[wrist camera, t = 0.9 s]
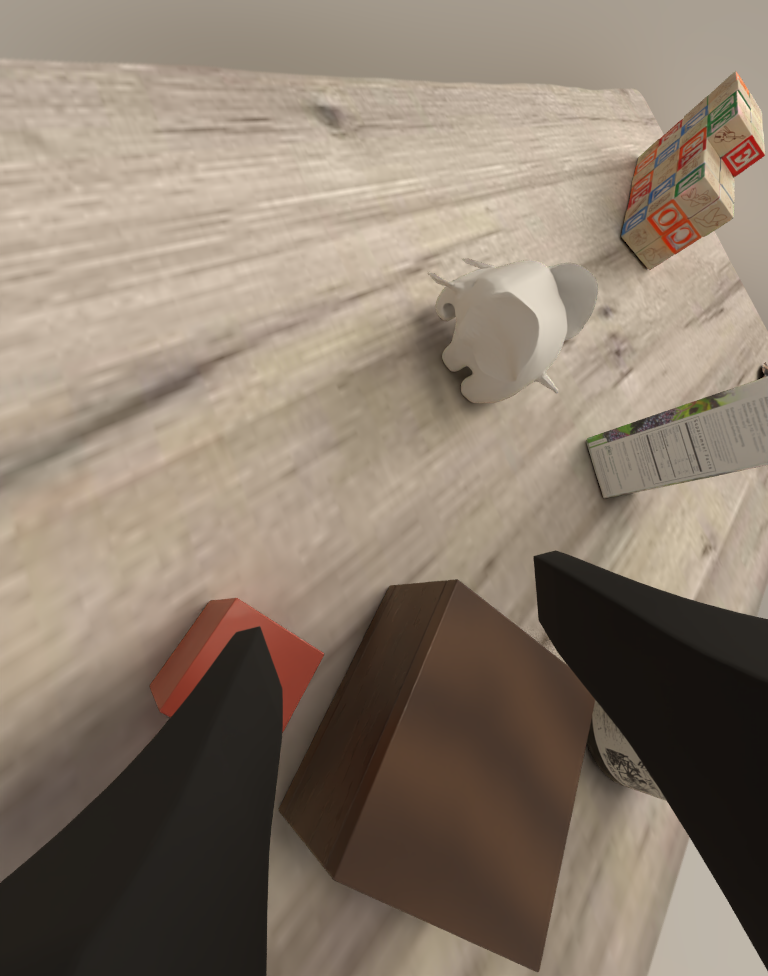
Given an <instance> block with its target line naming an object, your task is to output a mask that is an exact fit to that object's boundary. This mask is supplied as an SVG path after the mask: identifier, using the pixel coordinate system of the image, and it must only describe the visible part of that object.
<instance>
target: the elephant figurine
mask: <svg viewBox="0 0 768 976" xmlns="http://www.w3.org/2000/svg"><path fill="white" fill-rule="evenodd" d="M462 260H463V261H464V262H465V263H467V264H470V265H473V266H475V267H478V268H481V269H478V270H475V271H473V272H470V273H468V274H466V275H463V276H461V277H459V278H457V279H455V280H453V281H452V282H449V281H447V280H445V279H443V278H441V277H440V276H438V275H436V274H435V273H429V272H428V274H429V275H430V276H431V278H432V279H433V280H434V281H435V282H436V283H438V284H441V285H444V286H445V288H444V289H443V290H442V292H441V293H440V295H439V297H438V299H437V301H436V312H437V314H438V316H439V317H440V318H441V319H442V320H443V321H449V320H451V319H453V318H455V317H456V326H455V331H454V335H453V339H452V342H451V344H450V345H448V346H447V347H446V348H445V350H444V351H443V354H442V359H443V362H444V364H445V365H446V366H447V367H448V369H449V370H451V371H453V372H455V371H458V370H460V369H462V368H464V367H465V366H468V367H469V368H470V369H471V370H472V372H473V374H472V375H471V376H469V377H467V378H465V379H464V380H463V382H462V384H461V393H462V395H463V396H465V397H466V398H467V399H468V400H469V401H470V402H473V403H495V402H499V401H502V400H505V399H507V398H510V397H512V396H513V395H515V394H517V393H518V392H519V391H521V390H522V389H524V388H525V387H527V386H528V385H530V384H531V383H533V382H535V381H537V382H540V383H541V384H543V385H544V386H546V387H547V388H549V389H551V390H553V391H554V392H555V393H558V391H559V390H558V389H557V388H556V387H555V385H554V383H553V382H552V381H551V380H550V378H549V377H548V376H547V374H546V371H547V369H548V368H549V367H550V366H551V365H552V364H553V363H554V361H555V360H556V358H557V357H558V355H559V353H560V351H561V348H562V346H563V343H564V340H568V339H571V338H573V337H575V336H576V335H577V334H578V333H579V332H580V331H581V330H582V328H583V327H584V325H585V324H586V322H587V321H588V319H589V318H590V316H591V314H592V312H593V310H594V307H595V304H596V300H597V295H598V283H597V280H596V278H595V276H594V275H593V274H592V273H591V272H590V271H588V270H587V269H586V268H584V267H583V266H580V265H578V264H574V263H561V264H558V265H554V266H549V267H547V266H545V265H544V264H543V263H541V262H539V261H533V260H523V261H518V262H514V263H511V264H507V265H504V266H500V267H494V266H493V265H490V264H485V263H482V262H478V261H475V260H472V259H462Z"/></svg>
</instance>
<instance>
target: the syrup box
mask: <svg viewBox="0 0 768 976" xmlns="http://www.w3.org/2000/svg"><path fill="white" fill-rule="evenodd" d="M586 442H587V446H588V449H589V452H590V456H591V459H592V463H593V466H594V469H595V472H596V476H597V479H598V482H599V485H600V488H601V491H602V495H603V497H604V498H610V497H615V496H620V495H625V494H631V493H636V492H640V491H645V490H650V489H655V488H660V487H665V486H670V485H674V484H679V483H684V482H689V481H694V480H699V479H704V478H709V477H714V476H719V475H723V474H728V473H732V472H737V471H742V470H746V469H751V468H756V467H760V466H765V465H768V376H767V377H764V378H761V379H758V380H756V381H753V382H750V383H747V384H744V385H741V386H738V387H735V388H732V389H729V390H726V391H723V392H720V393H717V394H715V395H712V396H709V397H706V398H703V399H700V400H697V401H694V402H691V403H688V404H685V405H682V406H680V407H677V408H674V409H671V410H668V411H665V412H662V413H659V414H656V415H653V416H650V417H647V418H645V419H642V420H639V421H636V422H633V423H630V424H627V425H624V426H621V427H619V428H616V429H613V430H610V431H607V432H604V433H601V434H598V435H595V436H592V437H589V438H587V440H586Z"/></svg>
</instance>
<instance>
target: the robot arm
mask: <svg viewBox="0 0 768 976" xmlns="http://www.w3.org/2000/svg"><path fill="white" fill-rule="evenodd" d="M534 567H535V580H536V592H537V605H538V617H539V621H540V623H541V625H542V627H543V628H544V630H545V632H546V633H547V635H548V637H549V639H550V640H551V642H552V643H553V645H554V647H555V648H556V650H557V651H558V653H559V654H560V656H561V657H562V658H563V660H564V661H565V662H566V663H567V665H568V666H569V667H570V669H571V670H572V671H573V672H574V674H575V675H576V676H577V677H578V679H579V680H580V681H581V683H582V684H583V685H584V686H585V688H586V689H587V690H588V691H589V693H590V694H591V695H592V696H593V698H594V699H595V700H596V701H597V703H598V704H599V705H600V706H601V708H602V709H603V710H604V711H605V713H606V714H607V715H608V716H609V718H610V719H611V720H612V721H613V723H614V724H615V725H616V726H617V728H618V729H619V730H620V732H621V733H622V734H623V736H624V737H625V738H626V740H627V741H628V743H629V744H630V745H631V747H632V748H633V750H634V751H635V753H636V754H637V756H638V757H639V759H640V760H641V762H642V763H643V765H644V766H645V768H646V769H647V771H648V772H649V774H650V775H651V777H652V778H653V780H654V782H655V783H656V785H657V786H658V788H659V789H660V791H661V792H662V794H663V795H664V797H665V799H666V800H667V802H668V803H669V805H670V807H671V808H672V810H673V811H674V813H675V815H676V816H677V818H678V819H679V821H680V823H681V824H682V826H683V827H684V829H685V830H686V832H687V834H688V835H689V837H690V838H691V840H692V842H693V843H694V845H695V847H696V848H697V850H698V852H699V853H700V855H701V857H702V858H703V860H704V862H705V863H706V865H707V867H708V868H709V870H710V871H711V873H712V875H713V877H714V878H715V880H716V882H717V883H718V885H719V887H720V889H721V890H722V892H723V894H724V895H725V897H726V899H727V900H728V902H729V904H730V905H731V907H732V909H733V911H734V913H735V914H736V916H737V918H738V919H739V921H740V923H741V925H742V927H743V928H744V930H745V932H746V934H747V935H748V937H749V939H750V941H751V942H752V944H753V946H754V948H755V949H756V951H757V953H758V955H759V956H760V958H761V960H762V962H763V963H764V965H765V967H766V969H767V971H768V619H763V618H759V617H755V616H750V615H746V614H742V613H738V612H734V611H730V610H726V609H722V608H719V607H715V606H711V605H707V604H704V603H700V602H697V601H693V600H690V599H687V598H683V597H680V596H677V595H674V594H671V593H668V592H665V591H662V590H659V589H656V588H653V587H650V586H648V585H645V584H642V583H639V582H637V581H634V580H631V579H628V578H626V577H623V576H621V575H618V574H615V573H613V572H610V571H608V570H605V569H603V568H600V567H598V566H595V565H593V564H590V563H588V562H585V561H583V560H580V559H578V558H575V557H573V556H570V555H567V554H564V553H562V552H558V551H552V552H548V553H544V554H540V555H537V556H534ZM282 731H283V688H282V686H281V683H280V680H279V677H278V674H277V672H276V669H275V666H274V663H273V660H272V658H271V655H270V652H269V649H268V646H267V644H266V641H265V638H264V635H263V632H262V630H261V627H260V626H258V627H254V628H250V629H246V630H242V631H238V632H236V633H235V634H234V635H233V636H232V638H231V639H230V640H229V642H228V643H227V644H226V646H225V647H224V649H223V650H222V651H221V653H220V654H219V655H218V657H217V658H216V660H215V661H214V662H213V664H212V665H211V666H210V668H209V669H208V670H207V672H206V673H205V674H204V676H203V677H202V678H201V680H200V681H199V682H198V684H197V685H196V686H195V688H194V689H193V691H192V692H191V693H190V694H189V696H188V697H187V698H186V699H185V701H184V702H183V703H182V704H181V706H180V707H179V708H178V709H177V710H176V712H175V713H174V714H173V715H172V717H171V718H170V719H169V720H168V721H167V723H166V724H165V725H164V726H163V728H162V729H161V730H160V731H159V732H158V734H157V735H156V736H155V737H154V738H153V739H152V741H151V742H150V743H149V744H148V745H147V746H146V747H145V748H144V749H143V751H142V752H141V753H140V754H139V755H138V756H137V757H136V758H135V759H134V760H133V761H132V762H131V763H130V764H129V765H128V767H127V768H126V769H125V770H124V771H123V772H122V773H121V774H120V775H119V776H118V777H117V778H116V779H115V780H114V781H113V782H112V783H111V784H110V785H109V786H108V787H107V788H106V789H105V790H104V791H103V792H102V793H101V794H100V795H99V796H98V797H96V798H95V799H94V800H93V801H92V802H91V803H90V804H89V805H88V806H87V807H86V808H85V809H84V810H83V811H82V812H81V813H80V814H78V815H77V816H76V817H75V818H74V819H73V820H72V821H71V822H70V823H69V824H68V825H67V826H66V827H65V828H64V829H63V830H61V831H60V832H59V833H58V834H57V835H56V836H55V837H54V838H52V839H51V840H50V841H49V842H48V843H47V844H46V845H44V846H43V847H42V848H41V849H40V850H39V851H38V852H36V853H35V854H34V855H33V856H32V857H31V858H29V859H28V860H27V861H26V862H25V863H24V864H22V865H21V866H20V867H19V868H18V869H16V870H15V871H14V872H13V873H12V874H10V875H9V876H8V877H7V878H6V879H4V880H3V881H2V882H1V883H0V976H266V960H267V902H268V869H269V847H270V835H271V825H272V817H273V808H274V800H275V792H276V783H277V775H278V767H279V758H280V749H281V741H282Z"/></svg>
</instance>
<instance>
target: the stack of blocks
mask: <svg viewBox="0 0 768 976" xmlns="http://www.w3.org/2000/svg"><path fill="white" fill-rule="evenodd" d="M764 156H765V148H764V133H763V127H762V112H761V110H760V108H759V107H758V105H757V103H756V102H755V100H754V98H753V96H752V95H751V93H749V90H748V89H747V87H746V86H745V84H744V82H743V81H742V79H741V78H740V76H739V75H738V73H737V72H736V71H735V72H734V73H733V74H732V75H730V76H729V77H728V78H727V79H726V80H725V81H724V82H723V83H722V84H720V85H719V86H718V87H717V88H716V89H715V90H714V91H713V92H712V93H711V94H710V95H708V96H707V97H706V98H705V99H703V100H702V101H701V102H700V103H699V104H698V105H697V106H695V107H694V108H693V109H692V110H691V111H690V112H689V113H688V114H686V116H684V118H683V119H682V120H681V121H679V122H678V123H677V124H676V125H675V126H674V127H673V128H671V129H670V130H669V131H668V132H667V133H666V134H665V135H664V136H663V137H661V138H660V139H658V140H657V141H656V142H655V143H654V144H653V145H652V146H650V147H649V148H648V149H647V150H646V151H645V152H644V153H643V154H642V155H641V156H640V157H639V158H638V162H637V166H636V168H635V173H634V177H633V181H632V186H631V187H632V189H631V194H630V200H629V204H628V209H627V211H626V216H625V220H624V225H623V229H622V234H621V237H622V238H623V239H624V241H625V242H626V243H627V244H628V246H629V247H630V248H631V249H632V250H633V252H634V253H635V254H636V255H637V256H638V258H639V259H640V260H641V261H642V262H643V264H644V265H645V266H646V267H647V268H648V269H649V270H651V269H652V268H654V267H656V266H657V265H659V264H661V263H662V262H664V261H665V260H667V259H668V258H670V257H671V256H673V255H674V254H677V253H678V252H680V251H681V250H683V249H685V248H686V247H688V246H689V245H691V244H692V243H694V242H696V241H697V240H699V239H700V238H701V237H705V236H707V235H708V234H710V233H711V232H713V231H715V230H716V229H718V228H719V227H721V226H722V225H724V224H725V223H727V222H728V221H730V220H732V219H733V218H734V177H735V176H737V175H738V174H740V173H741V172H743V171H744V170H745V169H747V168H748V167H749V166H751V165H752V164H754V163H755V162H756V161H758V160H759V159H761V158H762V157H764Z"/></svg>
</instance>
